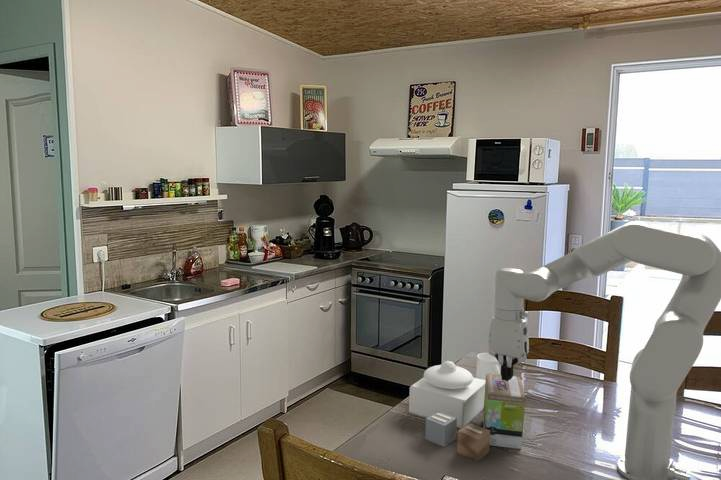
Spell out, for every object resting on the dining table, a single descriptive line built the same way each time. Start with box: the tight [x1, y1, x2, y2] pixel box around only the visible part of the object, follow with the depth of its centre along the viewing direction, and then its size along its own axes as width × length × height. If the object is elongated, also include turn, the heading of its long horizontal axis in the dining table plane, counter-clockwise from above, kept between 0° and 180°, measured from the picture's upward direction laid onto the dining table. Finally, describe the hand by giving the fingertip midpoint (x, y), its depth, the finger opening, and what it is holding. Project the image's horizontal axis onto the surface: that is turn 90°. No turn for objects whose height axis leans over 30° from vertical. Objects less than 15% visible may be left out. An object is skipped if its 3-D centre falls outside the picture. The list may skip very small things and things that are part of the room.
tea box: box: [482, 374, 526, 450], centre depth 146 cm, size 15×10×15 cm, turn 168°
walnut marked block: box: [456, 422, 491, 462], centre depth 137 cm, size 6×6×6 cm
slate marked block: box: [425, 411, 458, 448], centre depth 143 cm, size 6×6×6 cm
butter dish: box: [408, 360, 486, 429], centre depth 160 cm, size 18×18×16 cm
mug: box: [475, 352, 501, 380], centre depth 177 cm, size 9×12×11 cm
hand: (506, 379), depth 145 cm, fingers closed
